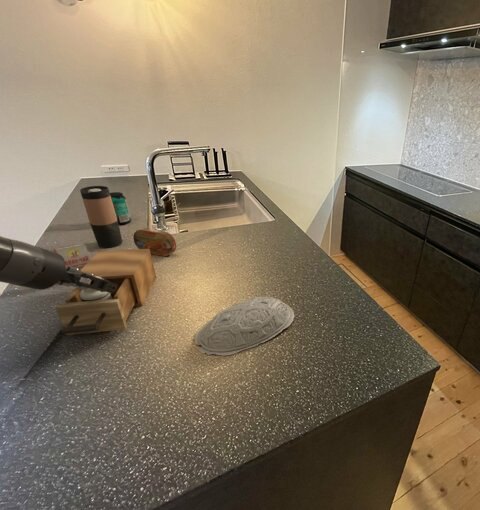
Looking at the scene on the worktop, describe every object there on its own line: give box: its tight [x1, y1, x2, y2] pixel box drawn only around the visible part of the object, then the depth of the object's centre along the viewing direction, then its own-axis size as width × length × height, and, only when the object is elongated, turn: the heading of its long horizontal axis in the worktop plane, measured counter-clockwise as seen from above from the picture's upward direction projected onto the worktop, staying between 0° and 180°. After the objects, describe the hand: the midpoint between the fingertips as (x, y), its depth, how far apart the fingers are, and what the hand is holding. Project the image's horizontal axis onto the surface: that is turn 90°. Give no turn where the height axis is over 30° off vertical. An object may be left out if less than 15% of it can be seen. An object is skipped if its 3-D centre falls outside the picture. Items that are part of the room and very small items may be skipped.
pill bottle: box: [80, 277, 112, 302], centre depth 71 cm, size 5×5×10 cm
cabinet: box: [79, 248, 157, 308], centre depth 82 cm, size 15×13×10 cm
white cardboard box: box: [53, 243, 92, 273], centre depth 87 cm, size 4×7×10 cm, turn 134°
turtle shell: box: [194, 296, 295, 357], centre depth 75 cm, size 16×25×7 cm, turn 131°
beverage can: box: [110, 191, 132, 226], centre depth 123 cm, size 7×7×12 cm
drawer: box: [54, 277, 137, 336], centre depth 71 cm, size 19×11×8 cm, turn 15°
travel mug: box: [79, 185, 123, 249], centre depth 104 cm, size 8×8×20 cm
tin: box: [132, 227, 177, 257], centre depth 104 cm, size 15×3×8 cm, turn 76°
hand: (99, 285), depth 71 cm, fingers open, 8 cm apart
